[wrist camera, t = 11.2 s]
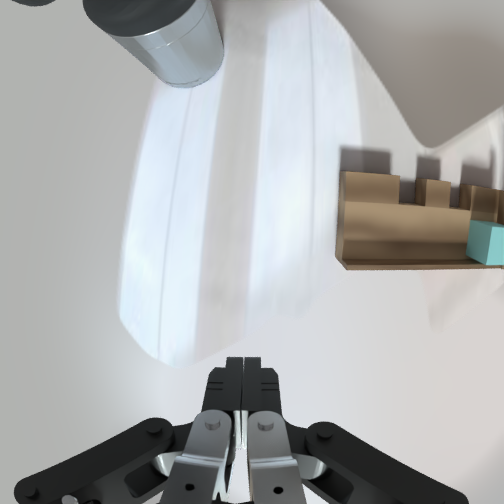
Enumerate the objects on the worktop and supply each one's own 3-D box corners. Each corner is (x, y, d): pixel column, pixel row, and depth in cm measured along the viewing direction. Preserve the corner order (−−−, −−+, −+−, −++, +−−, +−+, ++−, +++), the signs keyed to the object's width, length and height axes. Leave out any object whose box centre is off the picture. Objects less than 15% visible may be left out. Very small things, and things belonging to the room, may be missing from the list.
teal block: (470, 219, 35) (492, 226, 30) (493, 221, 35) (514, 228, 30) (465, 254, 36) (486, 265, 32) (488, 255, 36) (508, 264, 31)
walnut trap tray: (339, 170, 37) (354, 171, 31) (491, 188, 37) (516, 193, 31) (335, 257, 40) (347, 271, 34) (483, 257, 40) (506, 269, 34)
